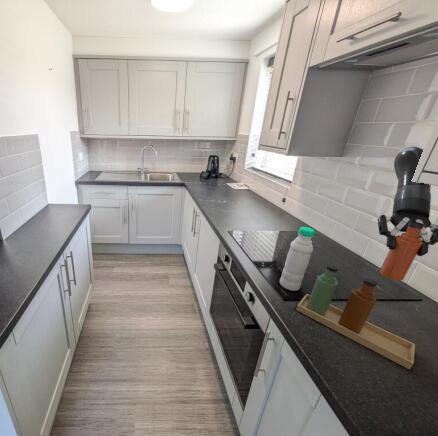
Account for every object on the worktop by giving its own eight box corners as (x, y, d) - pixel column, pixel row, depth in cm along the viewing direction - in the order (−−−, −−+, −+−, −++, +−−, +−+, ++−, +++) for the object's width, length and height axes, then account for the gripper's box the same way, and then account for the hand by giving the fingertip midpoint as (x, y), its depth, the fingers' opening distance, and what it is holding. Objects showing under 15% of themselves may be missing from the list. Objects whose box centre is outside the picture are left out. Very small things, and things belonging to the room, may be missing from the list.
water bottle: (280, 278, 96) (296, 223, 87) (300, 284, 92) (319, 228, 83) (277, 286, 91) (295, 229, 81) (298, 294, 87) (319, 234, 78)
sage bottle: (321, 306, 81) (338, 263, 74) (328, 317, 76) (347, 273, 69) (304, 303, 82) (319, 260, 75) (309, 314, 77) (327, 269, 70)
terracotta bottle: (395, 271, 73) (421, 220, 67) (408, 282, 68) (437, 228, 62) (375, 269, 75) (398, 218, 68) (386, 278, 70) (412, 225, 63)
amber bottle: (354, 322, 74) (376, 277, 68) (364, 335, 69) (388, 288, 63) (334, 318, 75) (354, 273, 69) (343, 331, 71) (365, 284, 64)
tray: (411, 349, 66) (415, 344, 65) (409, 369, 60) (413, 363, 59) (304, 298, 85) (306, 293, 84) (295, 309, 79) (297, 304, 78)
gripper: (385, 192, 72) (378, 240, 67) (454, 201, 65) (452, 255, 60) (375, 204, 78) (368, 249, 73) (437, 213, 71) (434, 263, 66)
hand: (406, 251), depth 67 cm, fingers closed on terracotta bottle, 5 cm apart
